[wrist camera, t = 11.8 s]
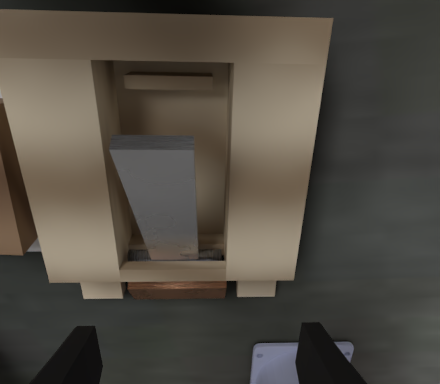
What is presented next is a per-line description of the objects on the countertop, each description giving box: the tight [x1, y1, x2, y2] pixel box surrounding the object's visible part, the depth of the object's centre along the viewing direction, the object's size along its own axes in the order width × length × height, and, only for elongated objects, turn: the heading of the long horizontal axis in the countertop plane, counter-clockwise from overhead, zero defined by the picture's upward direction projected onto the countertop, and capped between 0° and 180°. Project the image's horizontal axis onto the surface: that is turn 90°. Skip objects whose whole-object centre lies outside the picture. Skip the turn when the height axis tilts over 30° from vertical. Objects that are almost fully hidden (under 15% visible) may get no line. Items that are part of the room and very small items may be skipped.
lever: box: [109, 135, 227, 299], centre depth 16 cm, size 15×6×2 cm
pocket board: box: [0, 9, 333, 299], centre depth 18 cm, size 17×13×4 cm
